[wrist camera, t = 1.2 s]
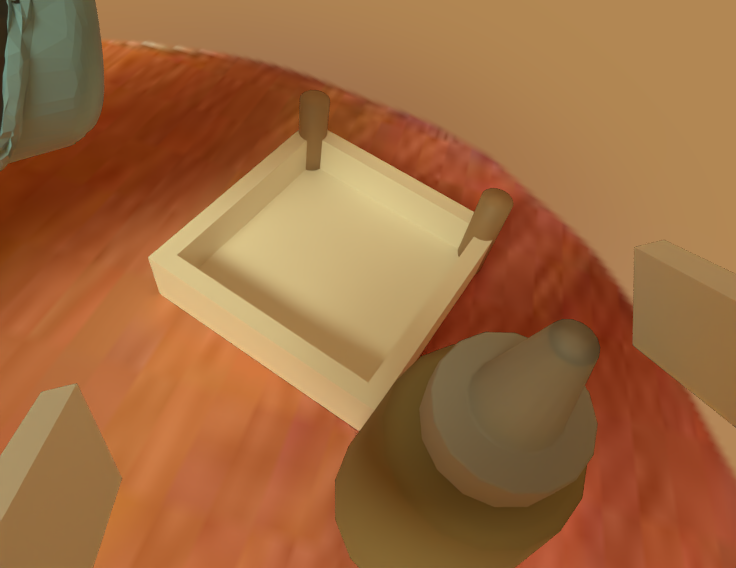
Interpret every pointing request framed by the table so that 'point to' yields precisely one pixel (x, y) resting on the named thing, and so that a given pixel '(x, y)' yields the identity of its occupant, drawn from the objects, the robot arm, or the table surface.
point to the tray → (329, 264)
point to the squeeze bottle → (472, 453)
